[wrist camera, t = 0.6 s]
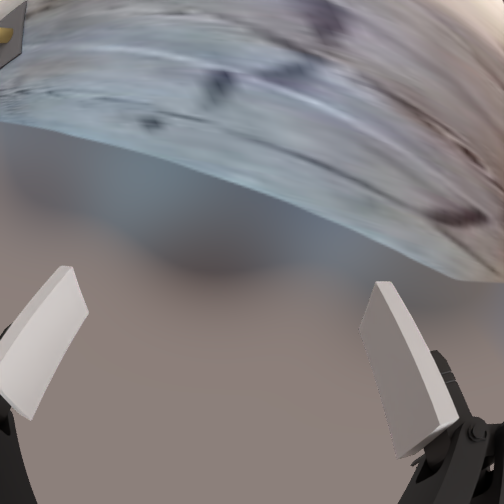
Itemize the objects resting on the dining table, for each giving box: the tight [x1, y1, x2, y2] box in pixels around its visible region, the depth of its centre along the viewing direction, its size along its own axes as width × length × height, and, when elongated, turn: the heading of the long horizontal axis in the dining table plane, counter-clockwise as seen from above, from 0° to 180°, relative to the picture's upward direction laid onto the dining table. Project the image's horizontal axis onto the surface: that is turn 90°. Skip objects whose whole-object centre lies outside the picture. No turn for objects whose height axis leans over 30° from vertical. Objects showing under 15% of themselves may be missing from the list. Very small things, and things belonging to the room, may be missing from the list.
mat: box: [0, 1, 27, 68], centre depth 20 cm, size 12×8×1 cm, turn 3°
